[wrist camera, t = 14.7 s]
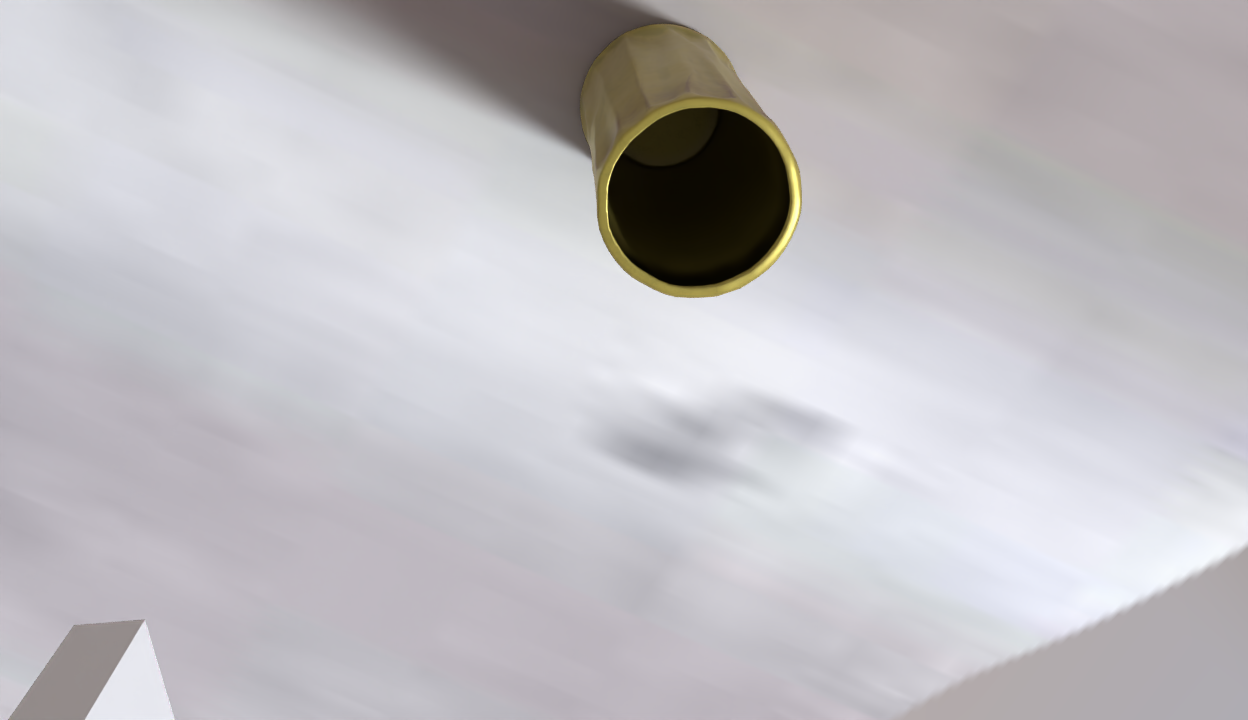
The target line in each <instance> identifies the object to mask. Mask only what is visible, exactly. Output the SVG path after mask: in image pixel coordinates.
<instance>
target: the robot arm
mask: <svg viewBox="0 0 1248 720" xmlns="http://www.w3.org/2000/svg"><path fill="white" fill-rule="evenodd" d="M8 720H175V719H174V715H173V712H172V709H171V705H170V702H169V699H168V695H167V692H166V689H165V685H164V682H163V679H162V675H161V672H160V669H159V665H158V662H157V658H156V655H155V652H154V648H153V645H152V642H151V638H150V635H149V632H148V628H147V625H146V622H145V620H133V621H121V622H108V623H96V624H84V625H74V626H73V627H72V629H71V630H70V632H69V633H68V635H67V636H66V637H65V639H64V640H63V642H62V643H61V645H60V646H59V648H58V649H57V650H56V652H55V653H54V655H53V656H52V658H51V659H50V660H49V662H48V663H47V665H46V666H45V668H44V669H43V671H42V672H41V673H40V675H39V676H38V678H37V679H36V681H35V682H34V683H33V685H32V686H31V688H30V689H29V691H28V692H27V694H26V695H25V696H24V698H23V699H22V701H21V702H20V704H19V705H18V706H17V708H16V709H15V711H14V712H13V714H12V715H11V716H10V718H9V719H8Z"/></svg>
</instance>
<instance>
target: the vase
mask: <svg viewBox="0 0 1248 720" xmlns="http://www.w3.org/2000/svg"><path fill="white" fill-rule="evenodd" d="M580 114H581V122H582V128H583V132H584V135H585V138H586V141H587V142H588V144H589V146H590V151H591V156H592V169H593V174H594V180H595V189H596V200H597V218H598V225H599V230H600V233H601V235H602V238H603V241H604V243H605V245H606V247H607V249H608V250H609V252H610V253H611V255H612V256H613V258H614V259H615V261H616V262H617V263H618V264H619V265H620V267H621V268H622V269H623V270H624V271H625V272H626V273H628V274H629V275H630V276H631V277H632V278H634V279H636V280H637V281H639V282H641V283H643V284H645V285H646V286H648V287H650V288H652V289H654V290H656V291H659V292H661V293H663V294H666V295H670V296H674V297H685V298H700V297H715V296H719V295H722V294H725V293H728V292H731V291H734V290H737V289H740V288H742V287H743V286H745V285H747V284H748V283H750V282H751V281H753V280H754V279H756V278H757V277H759V276H760V275H761V274H763V273H764V272H765V271H767V270H768V269H769V268H770V267H771V266H772V265H773V264H774V263H775V262H776V261H777V259H778V258H779V257H780V255H781V254H782V253H783V251H784V250H785V248H786V247H787V245H788V243H789V241H790V240H791V238H792V236H793V233H794V231H795V229H796V226H797V224H798V221H799V217H800V214H801V206H802V191H801V178H800V171H799V168H798V165H797V162H796V159H795V157H794V155H793V153H792V151H791V149H790V147H789V145H788V143H787V141H786V140H785V138H784V136H783V135H782V133H781V131H780V130H779V128H778V127H777V126H776V124H775V123H774V122H773V121H772V120H771V119H770V118H769V117H768V116H767V115H766V114H765V113H764V112H763V110H762V109H761V107H760V106H759V105H758V103H757V102H756V101H755V99H754V98H753V97H752V95H751V94H750V92H749V91H748V90H747V89H746V88H745V87H744V85H743V84H742V83H741V81H740V79H739V77H738V76H737V74H736V72H735V70H734V68H733V66H732V64H731V62H730V60H729V59H728V57H727V56H726V55H725V53H724V52H723V51H722V50H721V49H720V48H719V47H718V46H717V45H716V44H715V43H714V42H713V41H711V40H710V39H709V38H708V37H706V36H704V35H702V34H701V33H698V32H696V31H694V30H692V29H689V28H686V27H682V26H678V25H672V24H652V25H648V26H643V27H640V28H636V29H633V30H631V31H628V32H626V33H624V34H622V35H621V36H619V37H618V38H617V39H615V40H614V41H613V42H612V43H611V44H610V45H608V46H607V47H606V48H605V49H604V50H603V51H602V52H601V53H600V55H599V56H598V57H597V58H596V59H595V61H594V62H593V64H592V65H591V67H590V69H589V71H588V73H587V75H586V78H585V81H584V84H583V87H582V92H581V97H580Z"/></svg>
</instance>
